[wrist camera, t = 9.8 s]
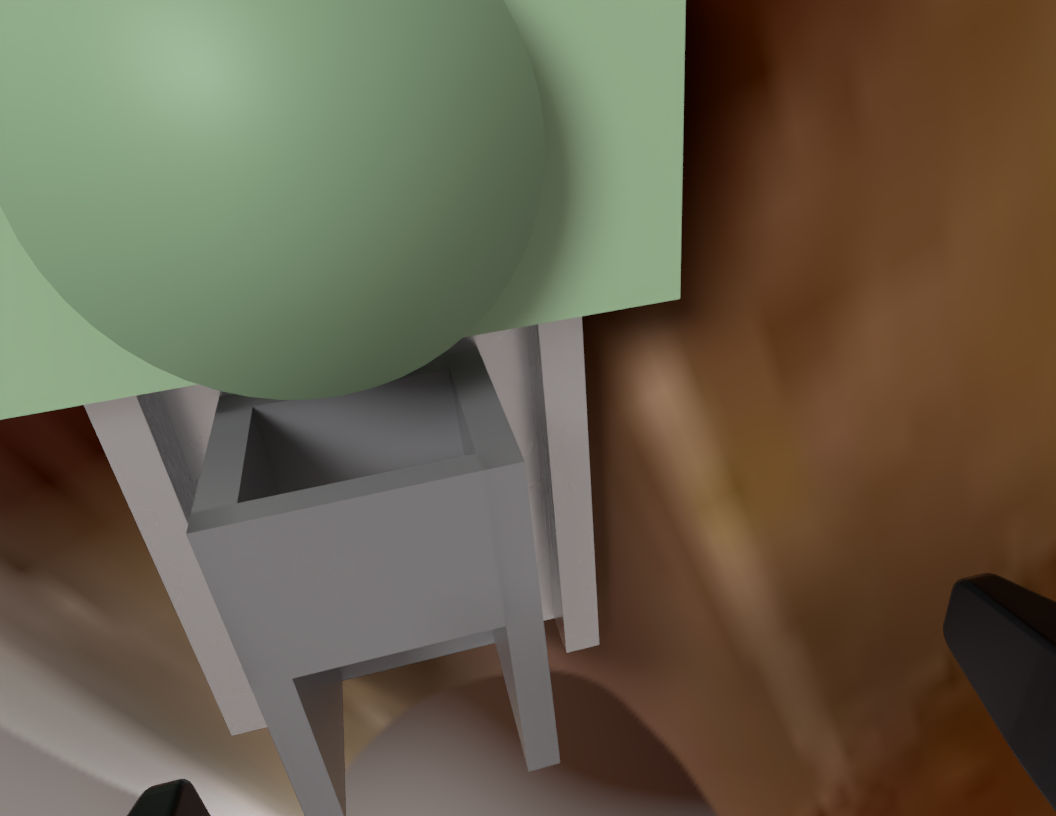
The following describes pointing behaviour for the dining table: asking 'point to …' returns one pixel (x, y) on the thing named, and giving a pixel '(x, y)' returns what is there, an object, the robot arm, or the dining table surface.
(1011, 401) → the dining table surface
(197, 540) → the chute
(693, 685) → the dining table surface
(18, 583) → the dining table surface
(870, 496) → the dining table surface
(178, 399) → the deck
